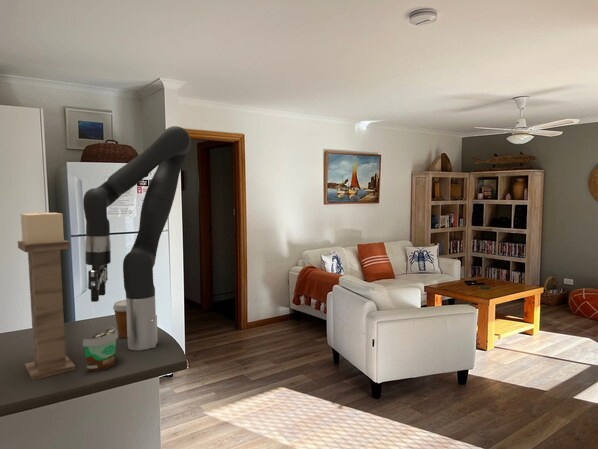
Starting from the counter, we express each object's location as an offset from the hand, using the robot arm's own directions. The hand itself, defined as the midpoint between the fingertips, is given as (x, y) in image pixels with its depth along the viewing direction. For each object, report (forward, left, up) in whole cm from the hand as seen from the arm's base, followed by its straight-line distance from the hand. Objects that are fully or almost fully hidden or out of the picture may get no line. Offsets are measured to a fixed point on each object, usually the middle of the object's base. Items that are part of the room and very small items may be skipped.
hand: (98, 298), depth 145 cm
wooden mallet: (+14, +8, +21) cm, 26 cm away
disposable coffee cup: (-6, -13, -17) cm, 23 cm away
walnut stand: (+11, +14, -17) cm, 25 cm away
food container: (-5, +15, -17) cm, 24 cm away
